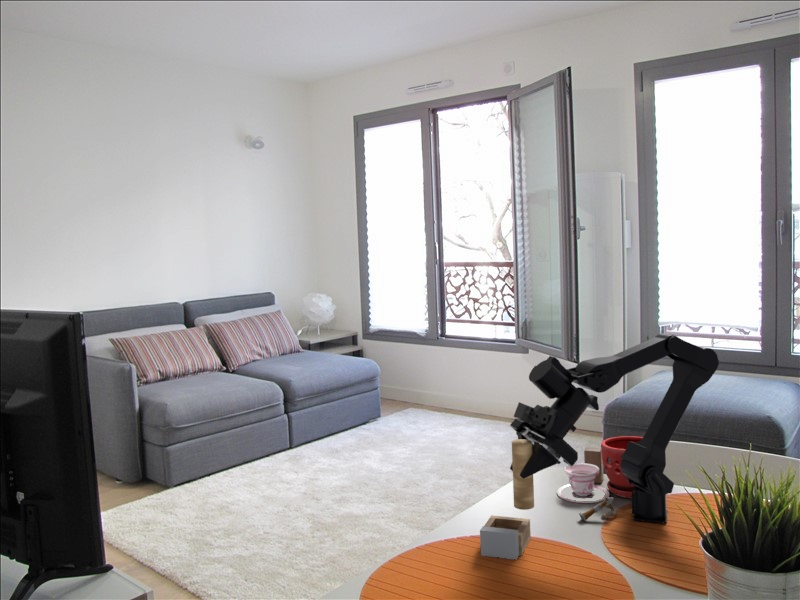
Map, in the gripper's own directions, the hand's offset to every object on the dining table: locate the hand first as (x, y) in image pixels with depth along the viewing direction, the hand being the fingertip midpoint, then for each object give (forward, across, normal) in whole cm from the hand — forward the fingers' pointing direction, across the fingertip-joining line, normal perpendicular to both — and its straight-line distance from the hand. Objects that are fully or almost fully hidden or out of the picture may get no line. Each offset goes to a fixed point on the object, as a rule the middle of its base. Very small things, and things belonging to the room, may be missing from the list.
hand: (516, 473), depth 136 cm
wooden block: (-13, -24, +33) cm, 43 cm away
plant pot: (-16, -14, +35) cm, 41 cm away
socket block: (+12, 0, +8) cm, 14 cm away
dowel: (+4, 0, +6) cm, 7 cm away
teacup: (-8, -17, +28) cm, 34 cm away
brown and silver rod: (-4, -4, +24) cm, 25 cm away
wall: (+14, +4, +6) cm, 16 cm away
